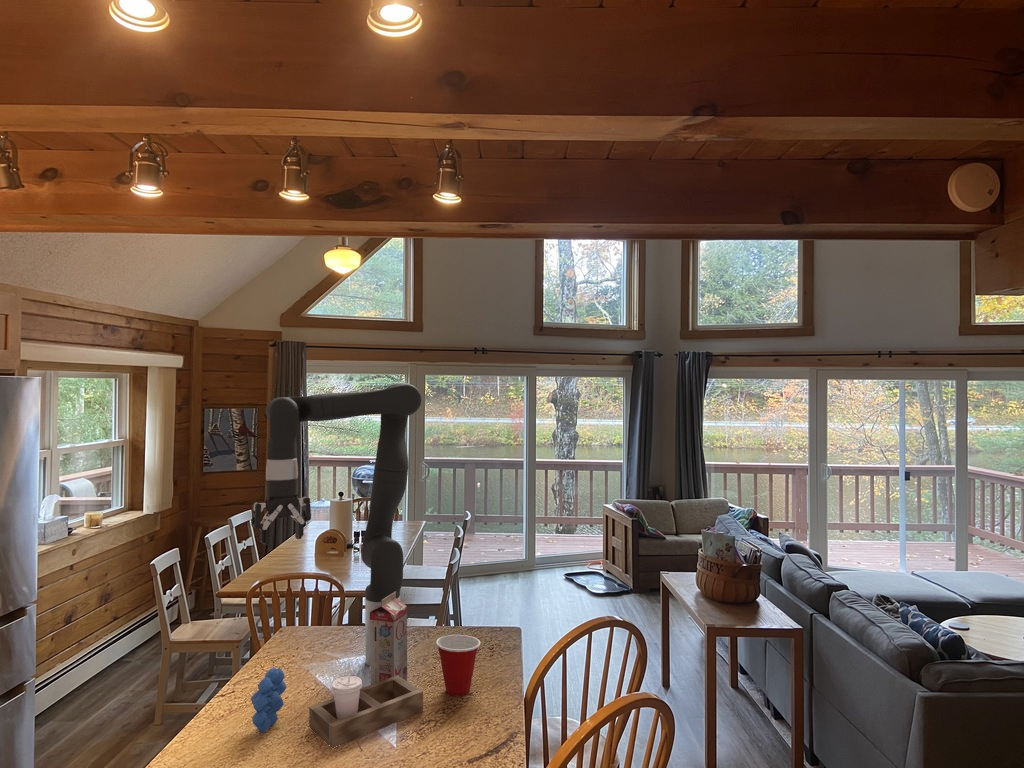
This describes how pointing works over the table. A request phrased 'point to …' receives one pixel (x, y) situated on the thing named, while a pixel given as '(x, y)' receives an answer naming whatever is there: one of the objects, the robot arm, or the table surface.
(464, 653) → the plastic cup
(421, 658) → the table surface
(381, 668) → the juice carton
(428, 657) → the table surface
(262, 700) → the grapes
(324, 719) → the slot rack
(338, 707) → the smoothie
